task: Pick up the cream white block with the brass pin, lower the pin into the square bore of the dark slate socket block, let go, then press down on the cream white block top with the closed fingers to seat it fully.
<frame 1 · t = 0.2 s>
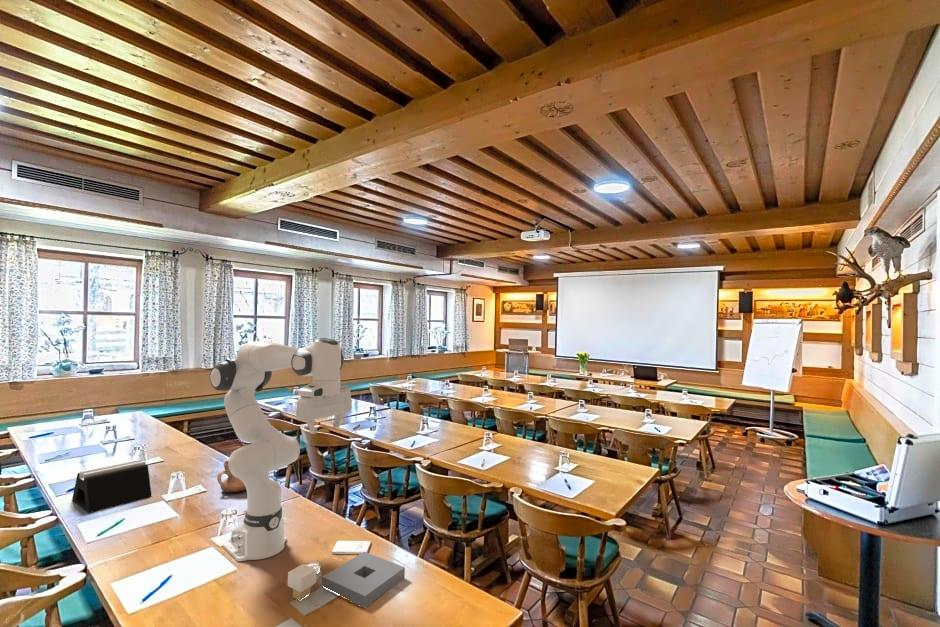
hand: (325, 430, 142), 47 cm above the table, tool pointing down, fingers open, 8 cm apart
device stand: (112, 499, 198), on the table
external hard drive: (351, 550, 159), on the table
cream white block: (301, 596, 130), on the table
ceramic jug: (236, 490, 211), on the table
socket: (364, 583, 138), on the table
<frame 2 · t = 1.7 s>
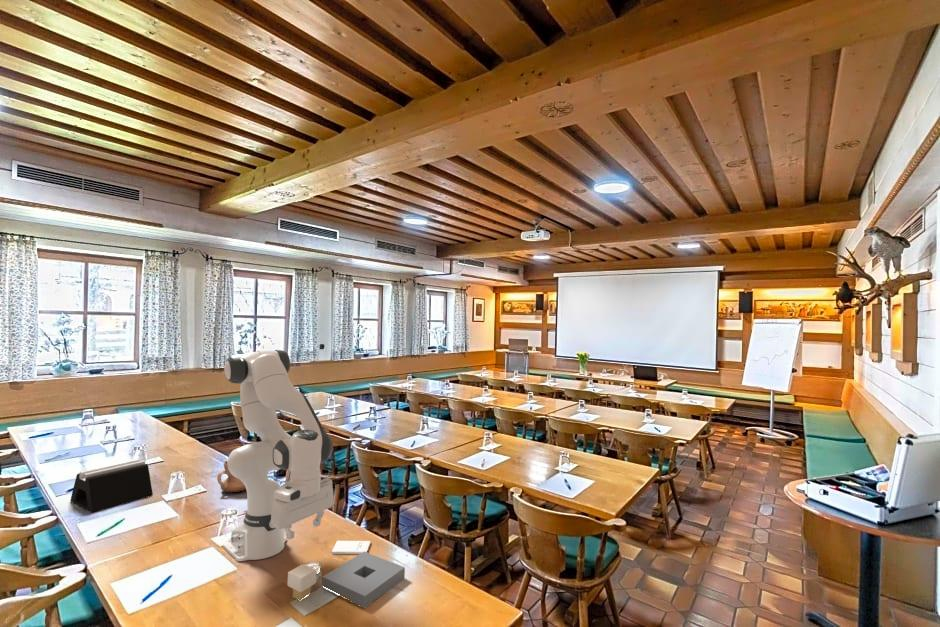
hand: (303, 531, 131), 19 cm above the table, tool pointing down, fingers open, 8 cm apart
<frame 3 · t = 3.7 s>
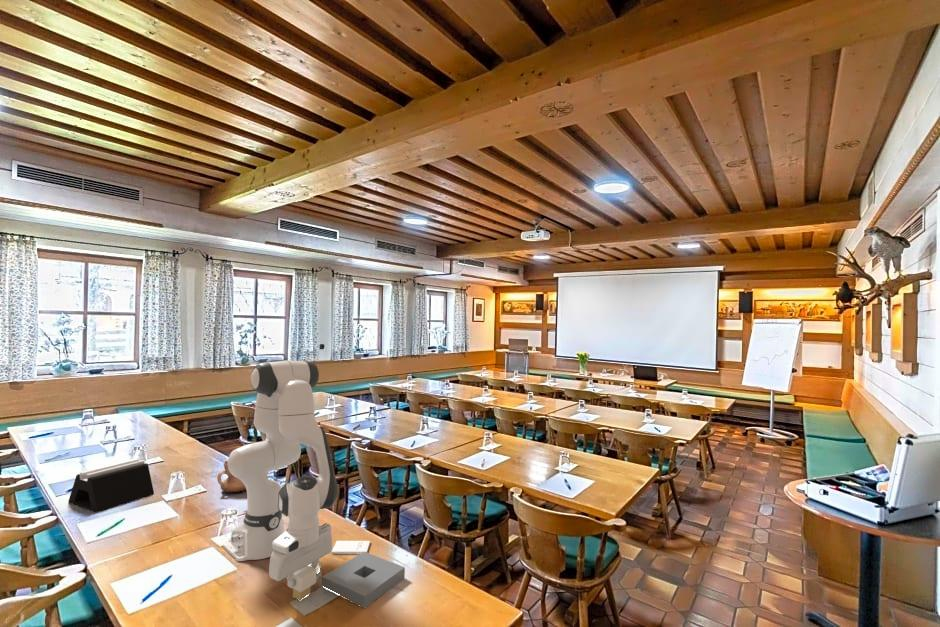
hand: (302, 580, 131), 5 cm above the table, tool pointing down, fingers closed on cream white block, 5 cm apart
cream white block: (301, 596, 130), on the table, touching gripper
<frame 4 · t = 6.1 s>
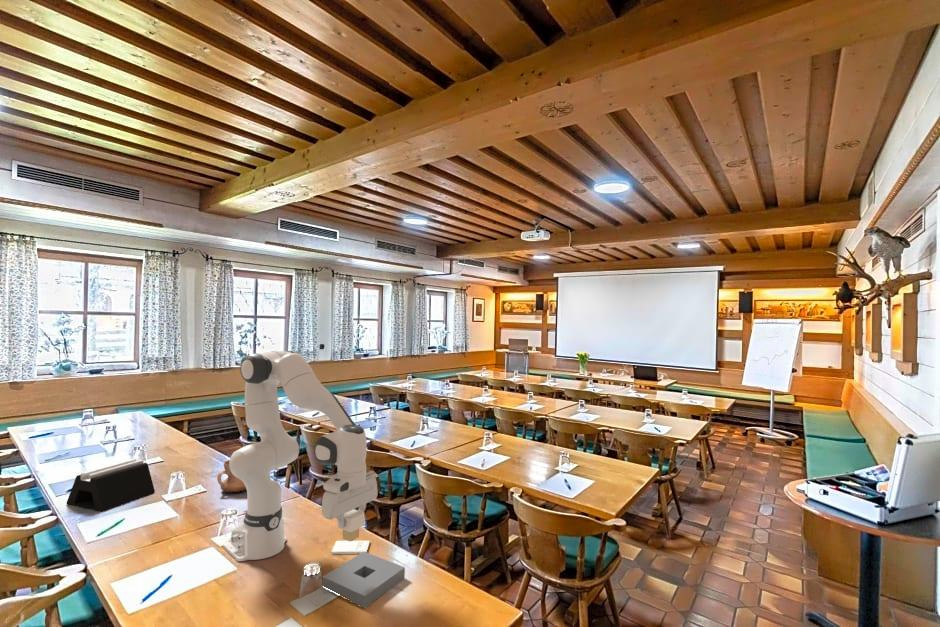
hand: (351, 522, 136), 20 cm above the table, tool pointing down, fingers closed on cream white block, 5 cm apart
cream white block: (350, 537, 136), point 15 cm above the table, touching gripper
when the fingers open (6 cm above the table, at t = 8.9 s): cream white block stays where it is, resting on socket.
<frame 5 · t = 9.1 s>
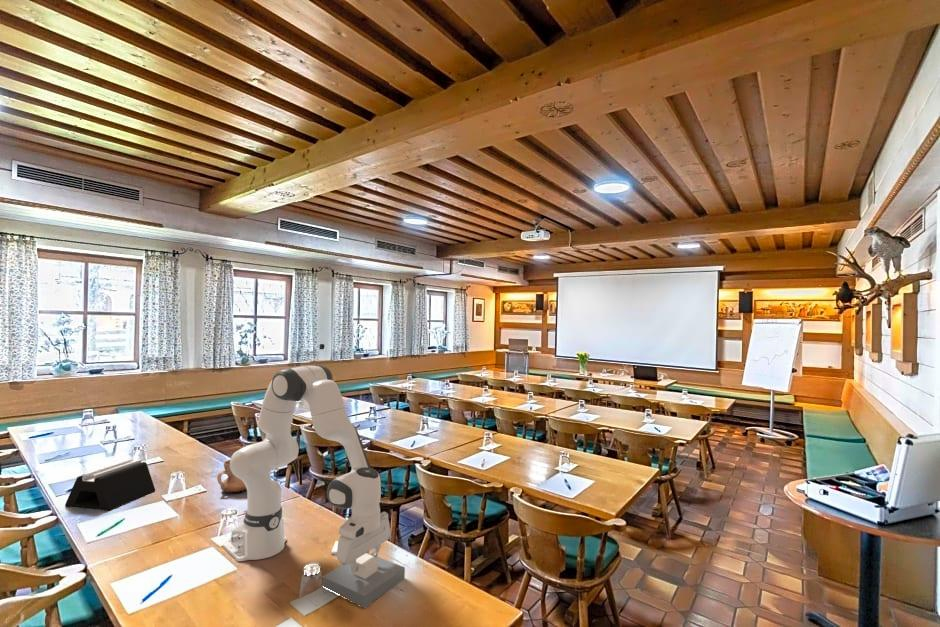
hand: (364, 565, 138), 6 cm above the table, tool pointing down, fingers open, 7 cm apart
cream white block: (364, 583, 138), resting on socket
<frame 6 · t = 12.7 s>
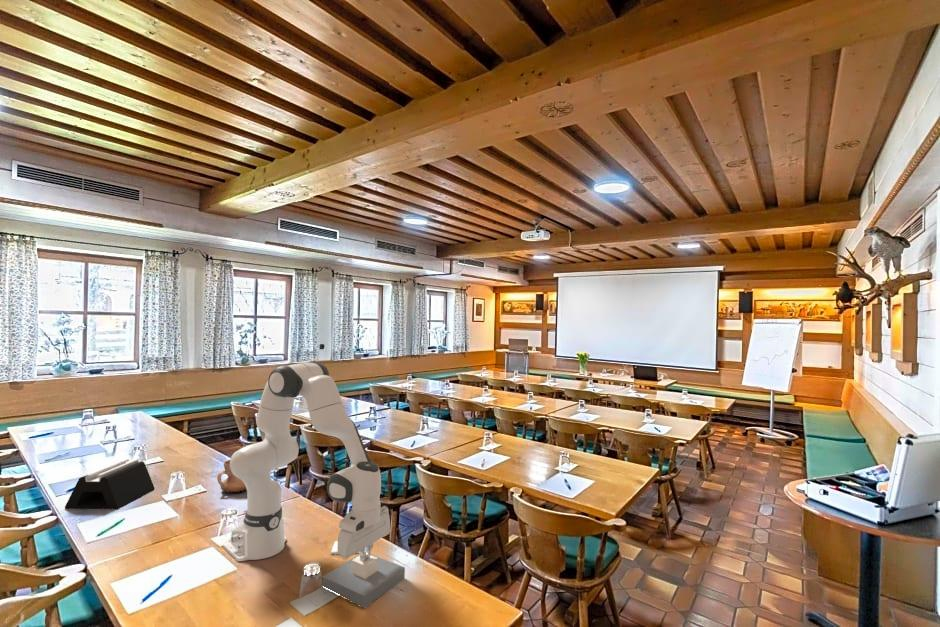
hand: (365, 559, 138), 8 cm above the table, tool pointing down, fingers closed, pressing on cream white block
cream white block: (364, 583, 138), resting on socket, touching gripper
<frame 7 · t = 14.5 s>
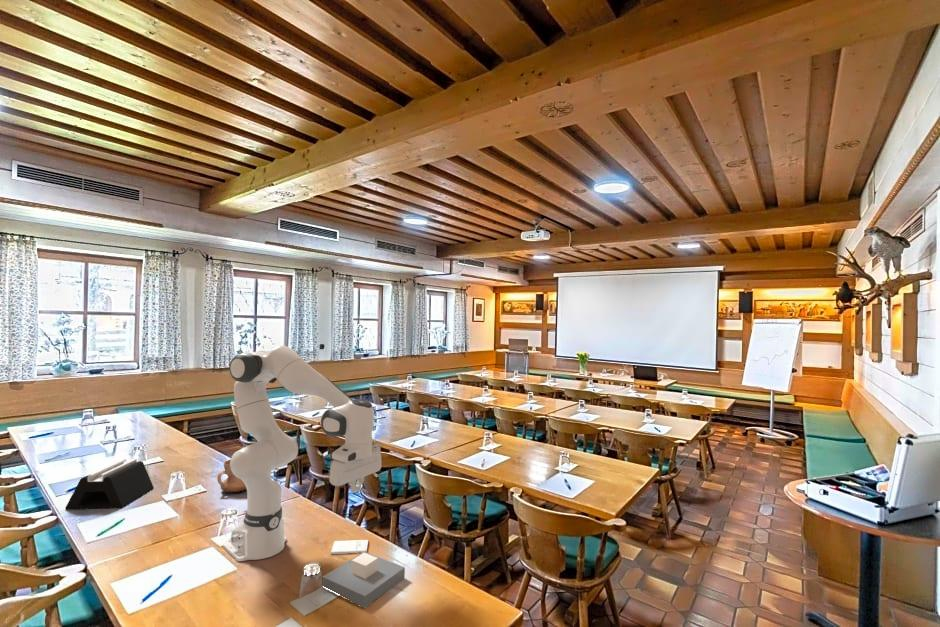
hand: (355, 491, 143), 27 cm above the table, tool pointing down, fingers closed
cream white block: (364, 583, 138), resting on socket
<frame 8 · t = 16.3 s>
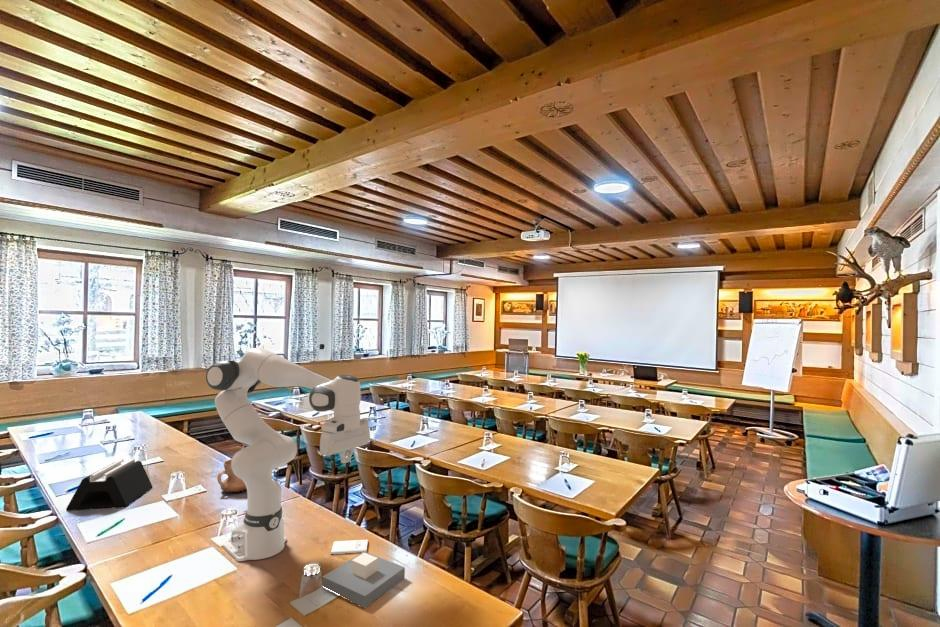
hand: (345, 462, 151), 34 cm above the table, tool pointing down, fingers closed
at the end: cream white block 0.0 cm off-centre on the socket, point 0.0 cm above the socket's base; cream white block tilted 0°; the gripper is holding nothing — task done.
